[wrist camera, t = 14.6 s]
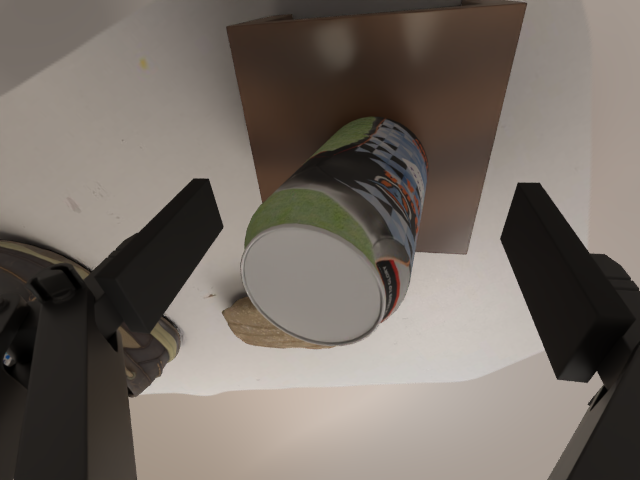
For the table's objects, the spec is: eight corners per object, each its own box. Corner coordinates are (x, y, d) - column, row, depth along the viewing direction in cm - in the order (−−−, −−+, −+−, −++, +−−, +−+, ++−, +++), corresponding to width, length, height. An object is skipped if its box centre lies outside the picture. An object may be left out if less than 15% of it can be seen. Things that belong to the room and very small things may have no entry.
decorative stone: (221, 293, 43) (209, 314, 40) (336, 278, 37) (331, 301, 35) (254, 342, 48) (246, 363, 45) (359, 334, 42) (357, 358, 40)
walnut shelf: (271, 15, 23) (225, 26, 17) (487, -3, 21) (527, 2, 14) (295, 193, 31) (270, 244, 25) (451, 196, 29) (466, 254, 23)
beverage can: (404, 216, 22) (410, 392, 12) (296, 187, 22) (220, 338, 12) (446, 122, 18) (501, 274, 8) (313, 87, 18) (221, 198, 9)
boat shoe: (-16, 211, 41) (-121, 269, 33) (197, 322, 47) (155, 394, 39) (-11, 262, 48) (-98, 321, 39) (176, 353, 54) (136, 421, 45)
